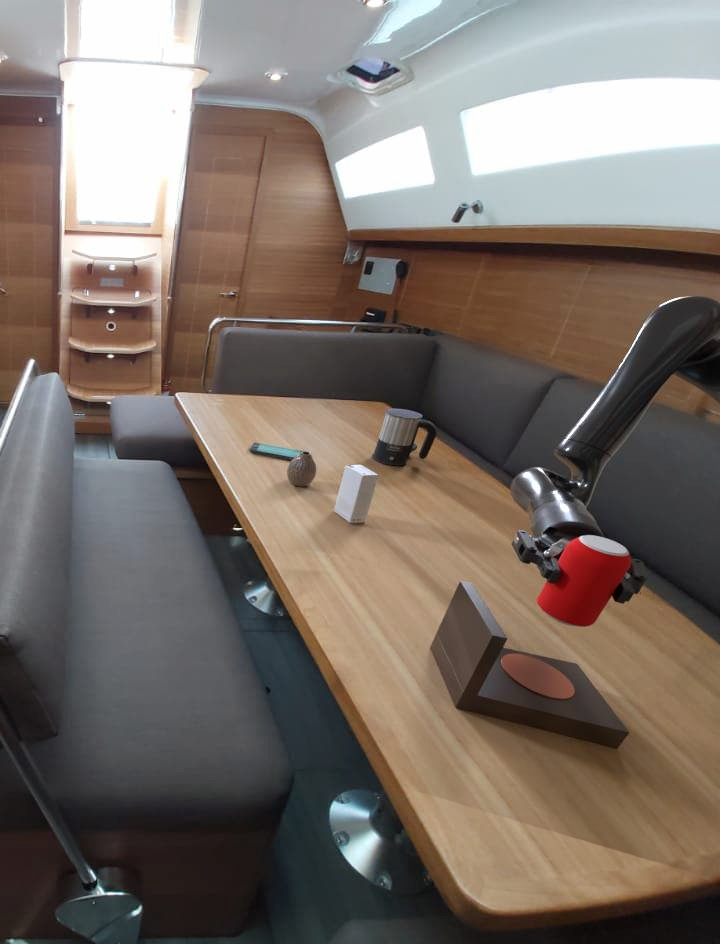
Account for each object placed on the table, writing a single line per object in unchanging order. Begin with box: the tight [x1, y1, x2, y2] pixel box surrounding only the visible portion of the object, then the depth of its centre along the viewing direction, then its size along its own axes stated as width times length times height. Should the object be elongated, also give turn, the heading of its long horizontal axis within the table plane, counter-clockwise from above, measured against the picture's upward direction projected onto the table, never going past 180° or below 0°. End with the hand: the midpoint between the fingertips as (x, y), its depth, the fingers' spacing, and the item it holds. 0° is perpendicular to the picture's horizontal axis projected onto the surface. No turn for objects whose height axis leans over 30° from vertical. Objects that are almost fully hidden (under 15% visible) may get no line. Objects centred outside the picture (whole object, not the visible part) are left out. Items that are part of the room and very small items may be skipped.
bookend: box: [429, 580, 630, 749], centre depth 68 cm, size 18×12×13 cm, turn 72°
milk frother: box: [371, 408, 438, 467], centre depth 148 cm, size 14×16×15 cm
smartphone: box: [249, 442, 304, 461], centre depth 150 cm, size 7×1×15 cm
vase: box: [286, 450, 317, 488], centre depth 130 cm, size 7×7×9 cm
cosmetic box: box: [333, 464, 379, 524], centre depth 114 cm, size 6×4×12 cm
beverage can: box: [536, 535, 632, 628], centre depth 67 cm, size 6×6×12 cm
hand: (588, 587), depth 65 cm, fingers closed on beverage can, 6 cm apart
